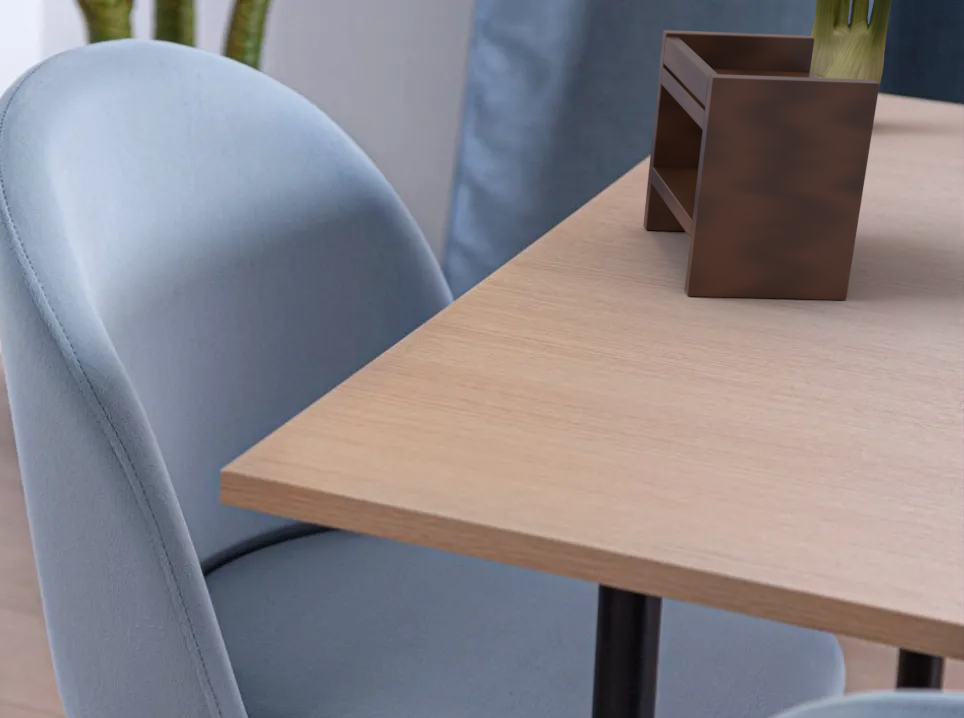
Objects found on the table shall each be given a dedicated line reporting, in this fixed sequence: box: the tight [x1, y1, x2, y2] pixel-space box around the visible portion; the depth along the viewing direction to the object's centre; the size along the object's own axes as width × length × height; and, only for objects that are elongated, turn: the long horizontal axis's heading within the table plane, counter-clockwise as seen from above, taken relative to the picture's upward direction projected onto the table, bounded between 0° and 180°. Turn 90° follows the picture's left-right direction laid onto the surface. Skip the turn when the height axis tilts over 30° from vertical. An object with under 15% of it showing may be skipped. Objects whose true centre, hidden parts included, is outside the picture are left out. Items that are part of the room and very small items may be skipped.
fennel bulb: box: [810, 0, 892, 86], centre depth 136 cm, size 6×5×12 cm
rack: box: [642, 29, 880, 301], centre depth 102 cm, size 9×14×12 cm, turn 4°
